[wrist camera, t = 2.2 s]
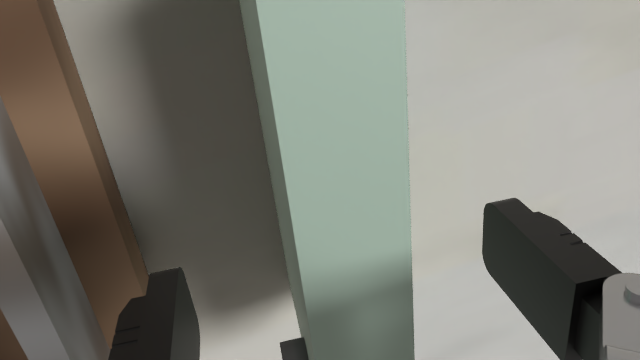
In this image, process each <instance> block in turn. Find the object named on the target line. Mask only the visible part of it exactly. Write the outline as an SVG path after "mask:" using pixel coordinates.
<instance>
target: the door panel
mask: <svg viewBox="0 0 640 360" xmlns="http://www.w3.org/2000/svg"><path fill="white" fill-rule="evenodd" d="M239 3H240V9H241V15H242V20H243V26H244V31H245V37H246V43H247V48H248V54H249V59H250V65H251V71H252V76H253V82H254V87H255V93H256V99H257V104H258V110H259V115H260V121H261V127H262V132H263V138H264V144H265V149H266V155H267V160H268V166H269V172H270V177H271V183H272V188H273V194H274V200H275V205H276V211H277V216H278V222H279V228H280V233H281V239H282V244H283V250H284V256H285V261H286V267H287V273H288V278H289V283H290V288H291V292H292V297H293V301H294V306H295V310H296V315H297V319H298V324H299V328H300V333H301V338H297V339H293V340H289V341H284V342H280V347H281V353H282V359H283V360H415V359H414V324H413V288H412V252H411V216H410V180H409V144H408V108H407V73H406V37H405V1H404V0H239Z"/></svg>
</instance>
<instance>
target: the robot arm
mask: <svg viewBox="0 0 640 360" xmlns="http://www.w3.org/2000/svg"><path fill="white" fill-rule="evenodd" d="M482 254H483V260H484V263H485V266H486V268H487V270H488V272H489V274H490V275H491V276H492V277H493V279H494V280H495V281H496V282H497V284H498V285H499V286H500V287H501V288H502V290H503V291H504V292H505V293H506V294H507V296H508V297H509V298H510V299H511V301H512V302H513V303H514V304H515V305H516V307H517V308H518V309H519V310H520V311H521V313H522V314H523V315H524V316H525V318H526V319H527V320H528V321H529V322H530V324H531V325H532V326H533V327H534V328H535V330H536V331H537V332H538V333H539V335H540V336H541V337H542V338H543V339H544V341H545V342H546V343H547V344H548V345H549V347H550V348H551V349H552V350H553V352H554V353H555V354H556V355H557V356H558V358H559V359H560V360H640V274H635V273H622V272H620V271H619V270H618V269H617V268H616V267H614V266H613V265H612V264H611V263H609V262H608V261H607V260H606V259H605V258H603V257H602V256H601V255H600V254H598V253H597V252H596V251H595V250H594V249H592V248H591V247H590V246H589V245H588V244H586V243H583V242H582V240H581V239H580V238H579V237H578V236H577V235H575V234H574V233H573V234H572V233H571V231H570V230H569V229H568V228H567V227H566V226H564V225H563V224H562V223H561V222H560V221H558V220H557V219H554V218H552V217H550V216H547V215H545V214H543V213H540V212H532V211H531V210H530V209H529V208H528V207H527V206H525V205H524V204H523V203H522V202H521V201H520V200H518V199H517V198H510V199H506V200H501V201H496V202H492V203H487V204H486V205H485V208H484V220H483V246H482ZM199 357H200V332H199V324H198V319H197V315H196V311H195V308H194V305H193V302H192V298H191V295H190V292H189V288H188V285H187V282H186V278H185V275H184V272H183V270H182V268H181V267H179V268H174V269H170V270H165V271H160V272H155V273H151V274H150V275H149V279H148V285H147V291H146V295H145V296H141V297H136V298H131V299H130V301H129V302H128V303H127V305H126V306H125V307H124V309H123V310H122V311H121V313H120V314H119V316H118V321H117V325H116V329H115V335H114V337H113V341H112V349H111V350H110V354H109V358H108V360H199Z"/></svg>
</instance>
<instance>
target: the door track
mask: <svg viewBox="0 0 640 360" xmlns="http://www.w3.org/2000/svg"><path fill="white" fill-rule="evenodd" d="M148 279H149V276H148V273H147V270H146V267H145V264H144V261H143V258H142V255H141V253H140V250H139V247H138V244H137V241H136V238H135V235H134V232H133V229H132V227H131V224H130V221H129V218H128V215H127V212H126V209H125V206H124V204H123V201H122V198H121V195H120V192H119V189H118V186H117V183H116V180H115V178H114V175H113V172H112V169H111V166H110V163H109V160H108V157H107V155H106V152H105V149H104V146H103V143H102V140H101V137H100V134H99V131H98V129H97V126H96V123H95V120H94V117H93V114H92V111H91V108H90V106H89V103H88V100H87V97H86V94H85V91H84V88H83V85H82V83H81V80H80V77H79V74H78V71H77V68H76V65H75V62H74V59H73V57H72V54H71V51H70V48H69V45H68V42H67V39H66V36H65V34H64V31H63V28H62V25H61V22H60V19H59V16H58V13H57V10H56V8H55V5H54V2H53V0H0V360H108V358H109V354H110V350H111V349H112V341H113V337H114V335H115V329H116V325H117V321H118V316H119V314H120V313H121V311H122V310H123V309H124V307H125V306H126V305H127V303H128V302H129V301H130V299H131V298H136V297H141V296H145V295H146V291H147V285H148Z"/></svg>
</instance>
